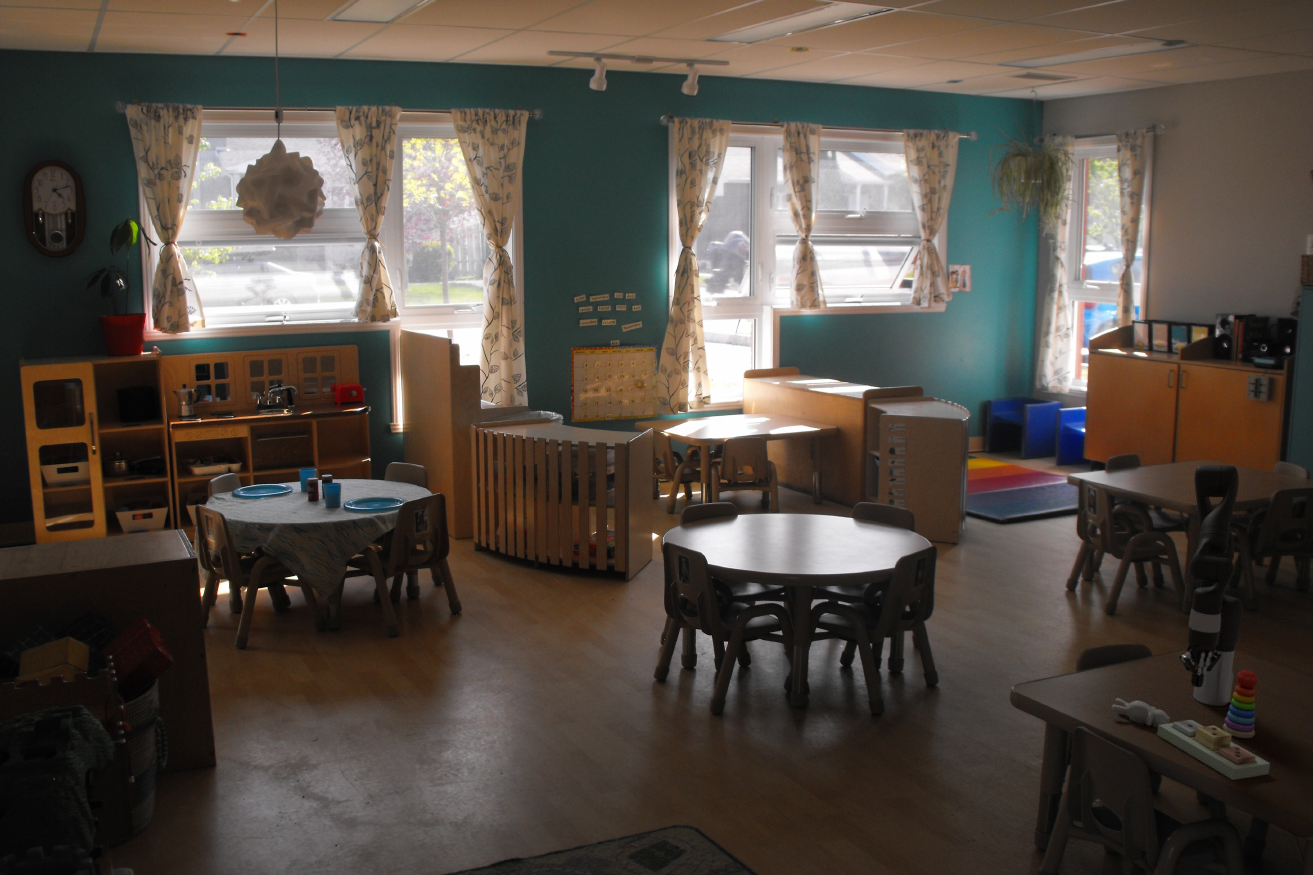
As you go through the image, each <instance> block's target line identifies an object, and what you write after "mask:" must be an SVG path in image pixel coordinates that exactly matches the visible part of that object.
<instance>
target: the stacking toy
mask: <svg viewBox="0 0 1313 875" xmlns="http://www.w3.org/2000/svg"><path fill="white" fill-rule="evenodd" d="M1236 680H1237V683H1238V684H1236V686H1235V688H1234V689H1235V691H1234V692H1233V694H1232V698H1231V699H1230V703H1231V704H1230V705H1229V706H1228V708H1229V710H1228V712H1227V713H1226V715H1227V716H1226V717H1225V718H1224V723H1223V725H1222V730H1223V731H1225V732H1227V733H1229V734H1231V735H1232V737H1236V738H1241V739H1251V738H1254V737H1255V734H1256V732H1255V731H1256V730H1255V728H1256V727H1255V726H1256V725H1255V722H1256V716H1255V715H1256V710H1255V709H1256V703H1255V701H1256V697H1255V696H1254V695H1256V689H1255V687H1256V685H1257V684H1258V680H1259V679H1258V676H1257V674H1256V673H1255V672H1254V671H1252V670H1249V669H1242V670H1240V671H1239V672H1238V673H1237V676H1236Z"/></svg>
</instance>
